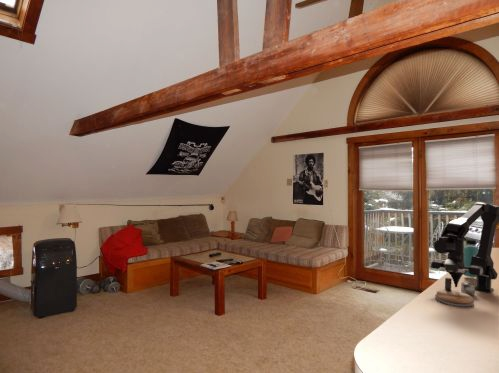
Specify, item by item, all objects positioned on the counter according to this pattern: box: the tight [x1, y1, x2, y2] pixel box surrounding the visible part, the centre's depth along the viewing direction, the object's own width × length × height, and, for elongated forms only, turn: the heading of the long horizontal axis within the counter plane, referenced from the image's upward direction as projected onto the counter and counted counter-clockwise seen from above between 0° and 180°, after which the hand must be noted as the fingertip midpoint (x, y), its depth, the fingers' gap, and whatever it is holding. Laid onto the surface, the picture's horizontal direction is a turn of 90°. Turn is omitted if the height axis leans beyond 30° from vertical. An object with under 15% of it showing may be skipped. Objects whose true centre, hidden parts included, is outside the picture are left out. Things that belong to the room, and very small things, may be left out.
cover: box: [460, 281, 476, 298], centre depth 151 cm, size 5×5×5 cm
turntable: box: [436, 277, 474, 304], centre depth 144 cm, size 15×13×6 cm
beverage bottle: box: [463, 238, 479, 278], centre depth 174 cm, size 6×7×20 cm
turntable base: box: [434, 293, 475, 309], centre depth 143 cm, size 14×14×1 cm
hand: (456, 287), depth 149 cm, fingers closed
